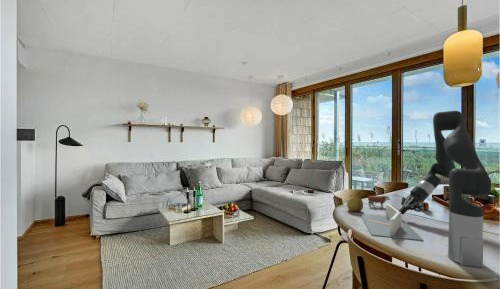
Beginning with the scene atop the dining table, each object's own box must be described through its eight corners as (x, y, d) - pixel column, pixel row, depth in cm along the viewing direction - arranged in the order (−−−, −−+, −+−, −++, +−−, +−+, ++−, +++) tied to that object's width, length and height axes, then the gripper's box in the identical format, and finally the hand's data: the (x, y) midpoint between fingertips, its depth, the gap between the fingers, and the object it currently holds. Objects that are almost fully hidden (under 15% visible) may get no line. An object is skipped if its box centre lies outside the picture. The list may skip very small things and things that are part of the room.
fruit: (344, 209, 150) (344, 190, 150) (355, 208, 153) (355, 189, 153) (354, 213, 142) (354, 193, 142) (366, 212, 145) (366, 192, 145)
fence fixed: (396, 226, 121) (396, 211, 121) (401, 227, 120) (401, 212, 120) (389, 236, 109) (389, 219, 109) (394, 237, 108) (394, 220, 108)
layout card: (423, 241, 104) (423, 239, 104) (371, 235, 110) (371, 234, 110) (400, 217, 135) (400, 217, 135) (360, 214, 140) (360, 213, 140)
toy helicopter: (413, 210, 149) (414, 188, 149) (405, 202, 169) (406, 182, 168) (429, 212, 146) (430, 189, 146) (419, 203, 166) (419, 183, 165)
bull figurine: (391, 208, 153) (391, 195, 153) (368, 207, 156) (368, 194, 156) (388, 206, 157) (388, 194, 157) (366, 205, 160) (366, 193, 160)
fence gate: (399, 225, 121) (399, 211, 121) (395, 224, 121) (395, 211, 121) (389, 216, 135) (389, 204, 135) (385, 216, 135) (385, 203, 135)
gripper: (409, 183, 138) (388, 205, 137) (427, 188, 125) (404, 212, 124) (417, 192, 138) (396, 214, 138) (437, 198, 125) (413, 222, 125)
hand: (400, 213), depth 131 cm, fingers closed
